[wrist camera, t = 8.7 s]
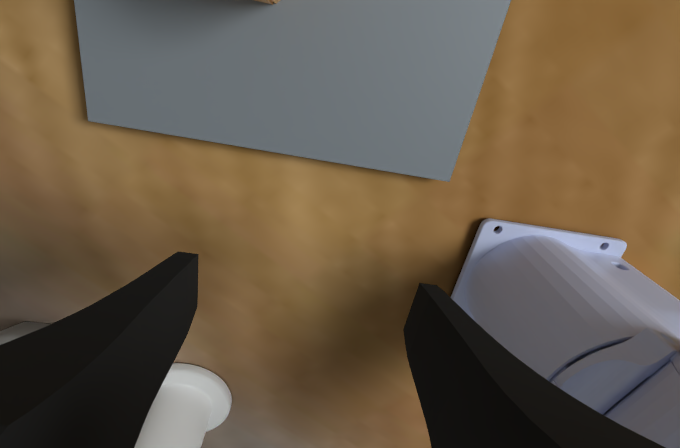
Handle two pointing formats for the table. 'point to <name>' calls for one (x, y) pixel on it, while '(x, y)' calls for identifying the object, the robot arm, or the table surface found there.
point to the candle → (185, 408)
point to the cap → (268, 1)
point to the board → (295, 74)
